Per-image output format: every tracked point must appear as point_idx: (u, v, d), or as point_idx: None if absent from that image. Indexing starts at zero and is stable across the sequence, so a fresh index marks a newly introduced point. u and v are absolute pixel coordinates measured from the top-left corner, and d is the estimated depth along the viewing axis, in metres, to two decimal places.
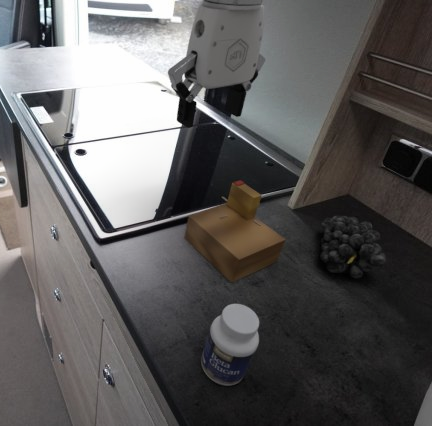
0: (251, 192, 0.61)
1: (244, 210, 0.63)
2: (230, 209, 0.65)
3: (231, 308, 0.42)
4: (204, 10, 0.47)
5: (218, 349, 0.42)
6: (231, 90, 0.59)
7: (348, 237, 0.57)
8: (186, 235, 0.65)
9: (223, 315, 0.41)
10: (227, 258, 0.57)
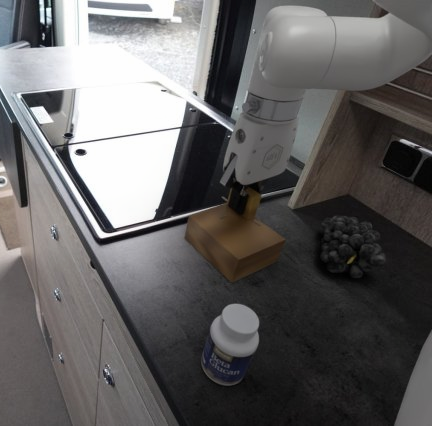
0: (251, 192, 0.61)
1: None
2: (230, 209, 0.65)
3: (231, 308, 0.42)
4: (245, 122, 0.53)
5: (218, 349, 0.42)
6: None
7: (348, 237, 0.57)
8: (186, 235, 0.65)
9: (223, 315, 0.41)
10: (227, 258, 0.57)
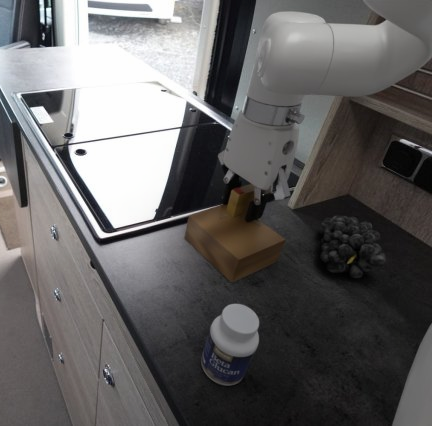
0: (252, 187, 0.62)
1: None
2: None
3: (231, 308, 0.42)
4: (291, 132, 0.52)
5: (218, 349, 0.42)
6: (231, 187, 0.64)
7: (348, 237, 0.57)
8: (186, 235, 0.65)
9: (223, 315, 0.41)
10: (227, 258, 0.57)
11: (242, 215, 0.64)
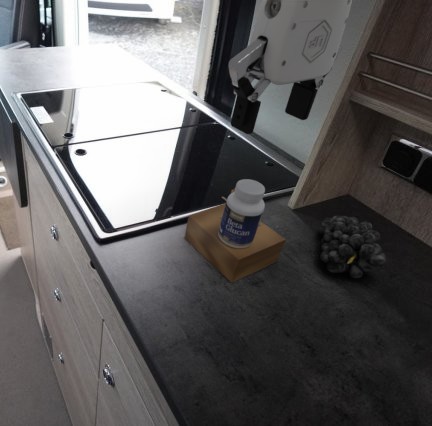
0: None
1: None
2: None
3: (243, 181, 0.54)
4: None
5: (233, 212, 0.54)
6: (296, 87, 0.48)
7: (348, 237, 0.57)
8: (186, 235, 0.65)
9: (237, 185, 0.53)
10: (227, 258, 0.57)
11: None
